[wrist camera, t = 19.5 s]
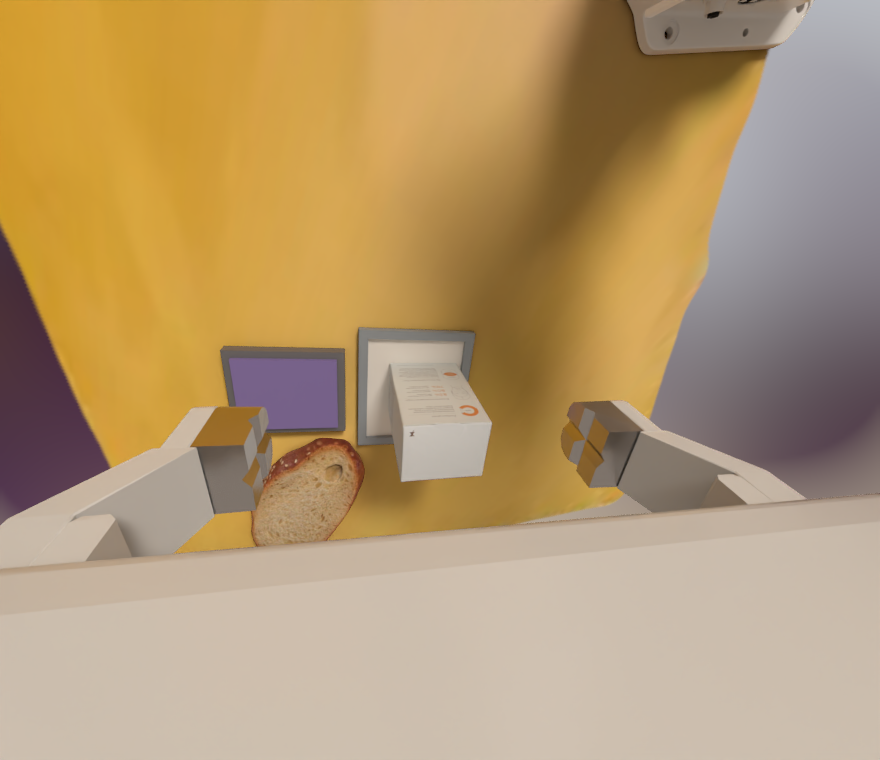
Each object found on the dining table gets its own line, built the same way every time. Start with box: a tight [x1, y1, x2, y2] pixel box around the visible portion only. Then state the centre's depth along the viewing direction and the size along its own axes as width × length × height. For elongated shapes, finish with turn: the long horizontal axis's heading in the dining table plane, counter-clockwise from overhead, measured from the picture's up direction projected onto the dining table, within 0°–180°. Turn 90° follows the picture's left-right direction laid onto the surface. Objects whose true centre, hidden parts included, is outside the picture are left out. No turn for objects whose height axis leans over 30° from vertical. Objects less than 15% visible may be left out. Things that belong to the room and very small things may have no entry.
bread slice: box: [251, 438, 365, 547], centre depth 47 cm, size 18×18×4 cm
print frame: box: [358, 327, 475, 445], centre depth 44 cm, size 13×15×1 cm
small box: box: [388, 363, 492, 482], centre depth 38 cm, size 8×6×13 cm
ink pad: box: [220, 346, 345, 433], centre depth 40 cm, size 12×10×2 cm
